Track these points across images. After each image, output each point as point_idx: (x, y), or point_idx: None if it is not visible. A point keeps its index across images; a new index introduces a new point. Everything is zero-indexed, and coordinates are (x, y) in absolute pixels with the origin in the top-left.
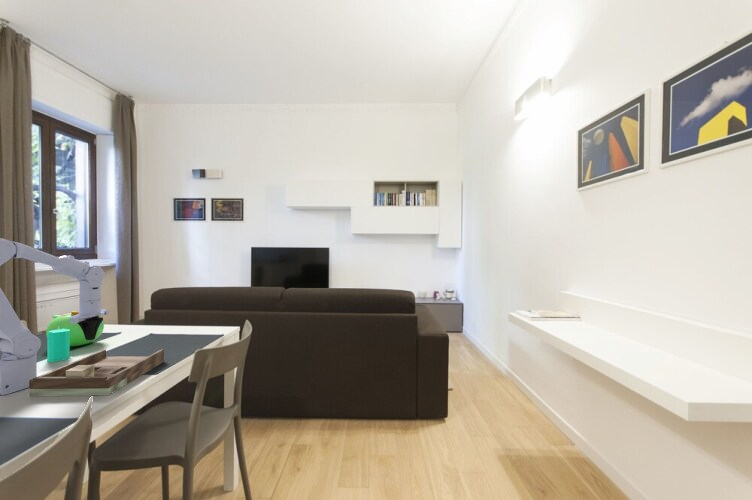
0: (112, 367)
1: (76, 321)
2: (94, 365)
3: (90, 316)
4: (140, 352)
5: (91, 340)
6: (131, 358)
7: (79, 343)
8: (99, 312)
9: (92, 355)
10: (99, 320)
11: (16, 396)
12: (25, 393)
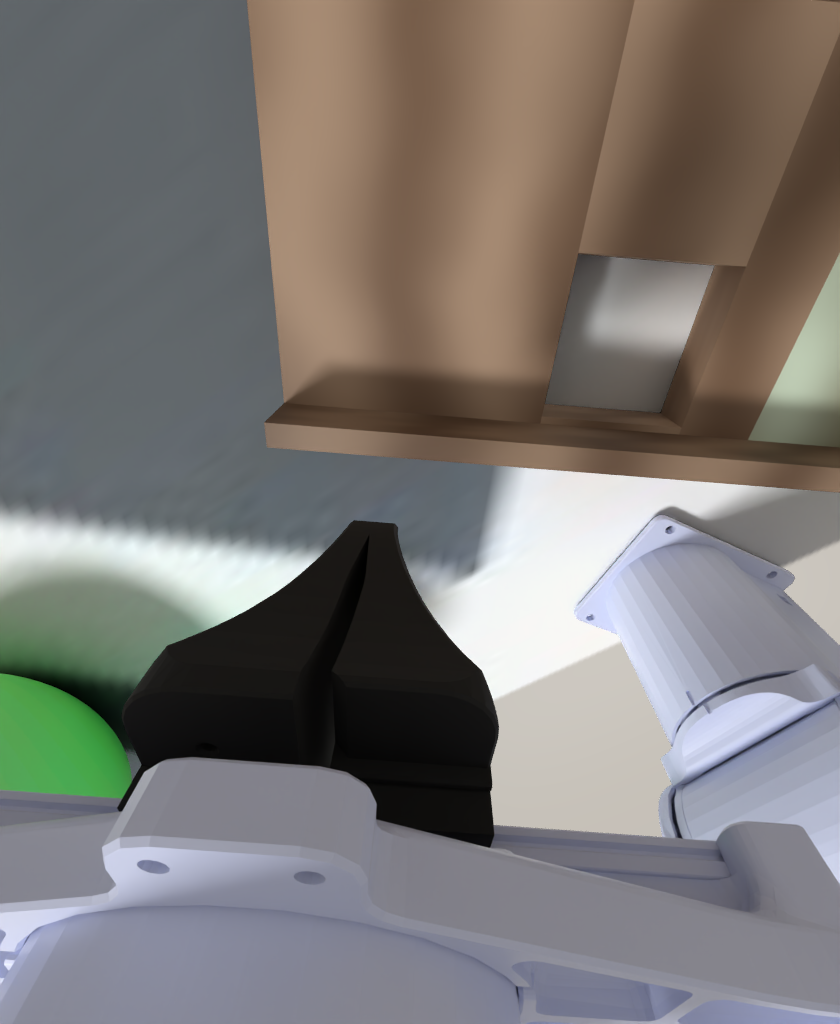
0: (613, 123)
1: (829, 869)
2: (512, 353)
3: (552, 878)
4: (12, 239)
5: (3, 675)
6: (329, 80)
7: (68, 697)
8: (212, 927)
9: (432, 435)
10: (290, 662)
11: (832, 516)
12: (803, 503)
